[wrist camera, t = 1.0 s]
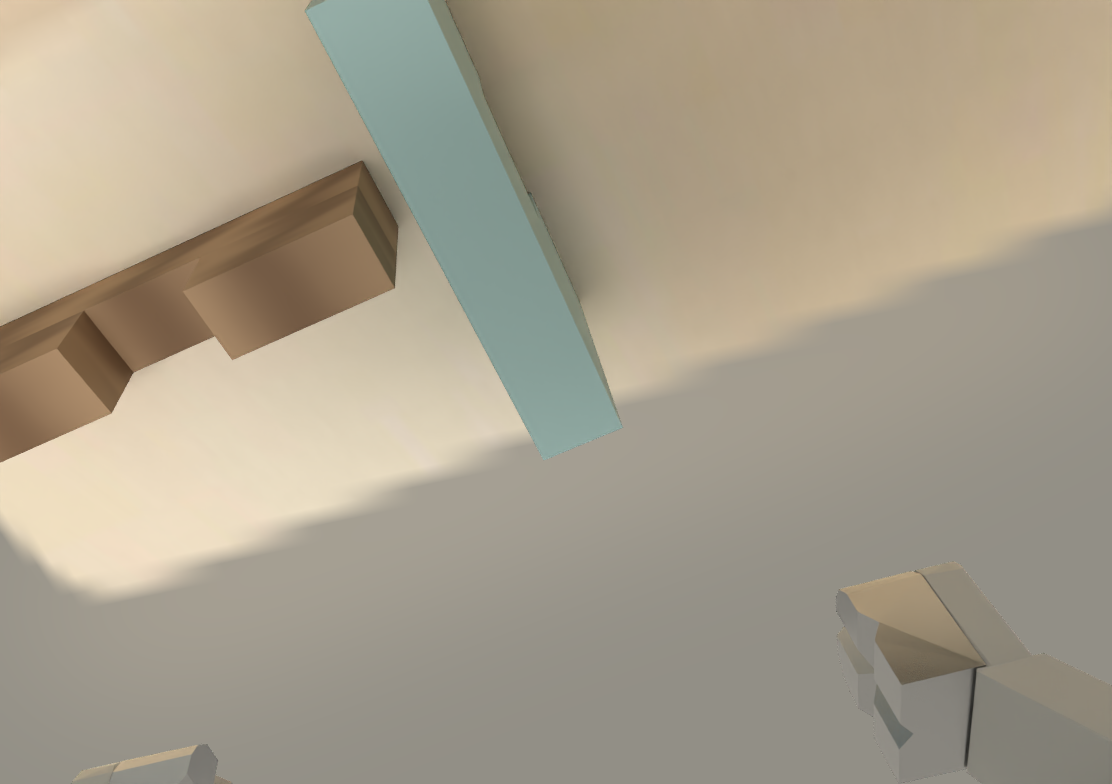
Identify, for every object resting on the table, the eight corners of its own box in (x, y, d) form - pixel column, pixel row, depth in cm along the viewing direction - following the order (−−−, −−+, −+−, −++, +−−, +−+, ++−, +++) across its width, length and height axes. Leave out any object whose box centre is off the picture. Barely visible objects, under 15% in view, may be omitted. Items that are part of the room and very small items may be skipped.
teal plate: (412, -73, 32) (409, -40, 23) (579, 302, 40) (622, 427, 31) (335, -35, 32) (304, 11, 23) (517, 329, 40) (543, 460, 32)
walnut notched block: (362, 160, 35) (352, 214, 30) (398, 226, 37) (394, 288, 32) (-31, 340, 37) (-102, 420, 32) (19, 396, 39) (-41, 480, 34)
